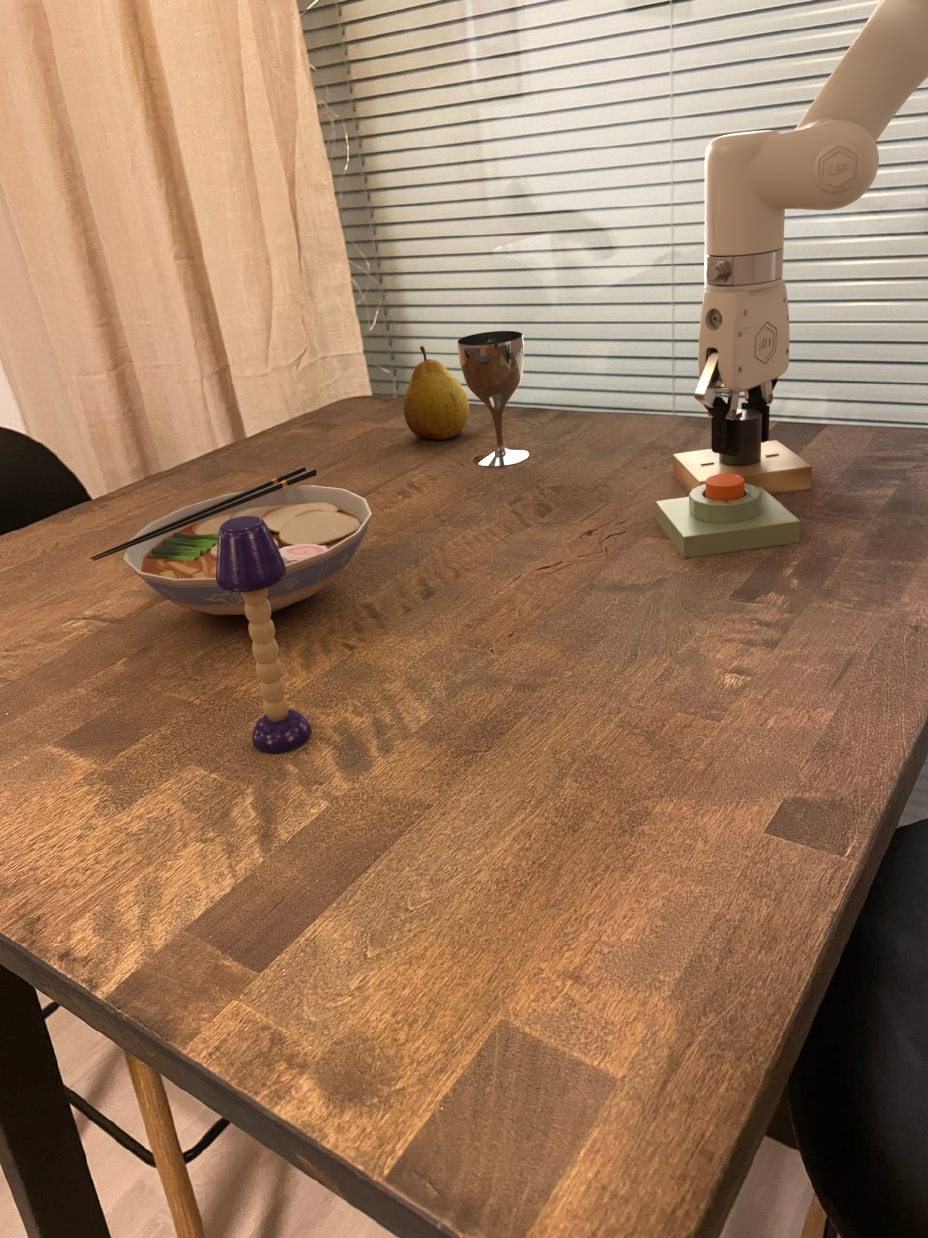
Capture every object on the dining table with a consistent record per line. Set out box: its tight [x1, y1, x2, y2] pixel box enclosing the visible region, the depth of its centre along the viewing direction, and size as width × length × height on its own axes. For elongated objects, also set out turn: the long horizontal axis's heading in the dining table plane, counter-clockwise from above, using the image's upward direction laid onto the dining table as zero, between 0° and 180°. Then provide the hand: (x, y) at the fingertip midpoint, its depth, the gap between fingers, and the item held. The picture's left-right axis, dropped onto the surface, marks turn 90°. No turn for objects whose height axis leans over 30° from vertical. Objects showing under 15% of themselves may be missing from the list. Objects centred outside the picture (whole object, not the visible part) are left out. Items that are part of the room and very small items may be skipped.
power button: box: [706, 474, 745, 501], centre depth 93 cm, size 4×4×2 cm
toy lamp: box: [216, 516, 312, 754], centre depth 67 cm, size 5×5×17 cm
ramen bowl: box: [89, 465, 373, 616], centre depth 91 cm, size 25×23×8 cm
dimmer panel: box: [672, 439, 813, 495], centre depth 106 cm, size 12×10×3 cm
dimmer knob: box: [719, 408, 762, 466], centre depth 104 cm, size 4×4×5 cm
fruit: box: [403, 345, 470, 441], centre depth 133 cm, size 9×9×12 cm
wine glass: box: [457, 330, 530, 468], centre depth 120 cm, size 8×8×15 cm
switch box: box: [654, 483, 801, 559], centre depth 94 cm, size 11×10×4 cm
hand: (740, 445), depth 105 cm, fingers closed on dimmer knob, 4 cm apart
